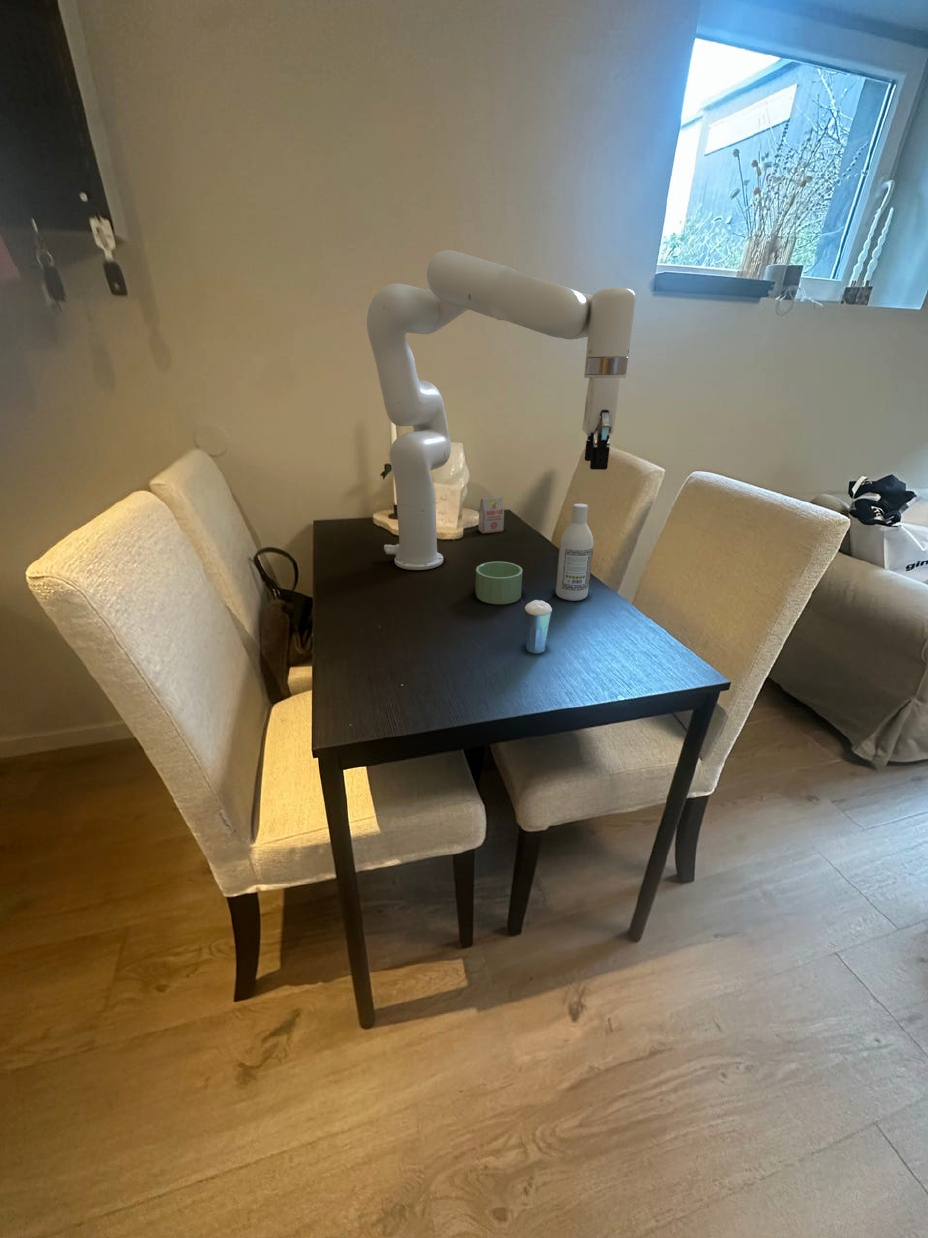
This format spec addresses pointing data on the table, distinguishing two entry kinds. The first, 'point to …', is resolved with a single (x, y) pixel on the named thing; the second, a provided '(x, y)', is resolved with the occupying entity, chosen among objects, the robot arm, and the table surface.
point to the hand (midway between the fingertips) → (595, 464)
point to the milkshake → (537, 625)
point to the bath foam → (575, 557)
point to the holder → (498, 582)
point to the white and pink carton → (491, 515)
